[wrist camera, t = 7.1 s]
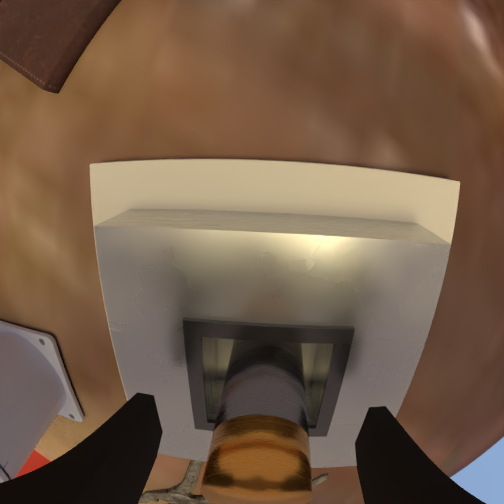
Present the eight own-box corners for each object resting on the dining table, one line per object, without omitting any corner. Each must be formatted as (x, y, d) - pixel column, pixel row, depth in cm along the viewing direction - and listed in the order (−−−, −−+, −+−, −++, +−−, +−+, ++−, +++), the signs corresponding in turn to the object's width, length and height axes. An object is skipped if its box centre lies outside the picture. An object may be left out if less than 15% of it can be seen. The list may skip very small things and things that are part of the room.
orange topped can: (237, 365, 15) (209, 511, 7) (232, 311, 14) (191, 466, 6) (299, 364, 14) (307, 515, 7) (301, 311, 13) (317, 470, 6)
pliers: (345, 470, 18) (212, 532, 24) (344, 461, 19) (213, 527, 25) (233, 426, 17) (132, 502, 23) (235, 416, 18) (134, 496, 24)
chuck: (159, 413, 16) (143, 453, 13) (130, 208, 13) (91, 227, 10) (362, 425, 16) (372, 466, 13) (416, 223, 12) (453, 246, 9)
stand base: (140, 417, 18) (135, 427, 17) (100, 162, 13) (89, 163, 12) (380, 431, 17) (383, 441, 16) (449, 179, 12) (460, 182, 11)
